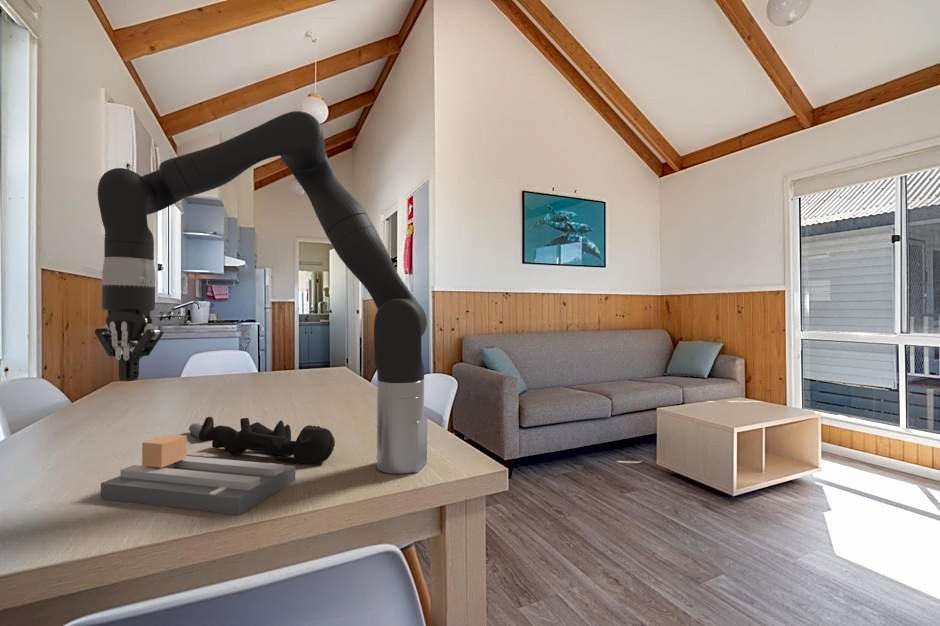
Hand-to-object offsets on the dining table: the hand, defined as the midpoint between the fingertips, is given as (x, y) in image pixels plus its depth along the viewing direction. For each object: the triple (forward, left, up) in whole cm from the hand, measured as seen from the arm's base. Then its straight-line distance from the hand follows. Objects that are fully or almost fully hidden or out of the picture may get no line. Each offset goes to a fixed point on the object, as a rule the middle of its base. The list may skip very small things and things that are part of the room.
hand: (128, 380), depth 78 cm
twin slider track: (-16, 0, -18) cm, 24 cm away
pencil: (+10, -26, -18) cm, 33 cm away
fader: (-8, 0, -15) cm, 17 cm away
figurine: (-16, -17, -18) cm, 30 cm away
